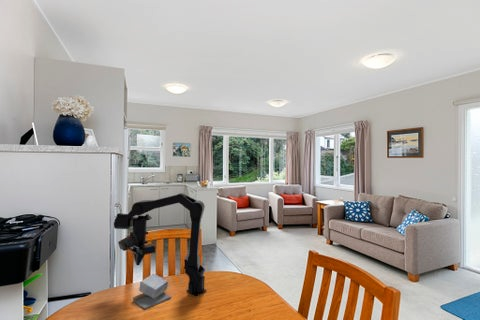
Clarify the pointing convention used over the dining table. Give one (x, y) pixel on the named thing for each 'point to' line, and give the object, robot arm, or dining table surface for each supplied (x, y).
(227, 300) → the dining table surface
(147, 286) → the medicine box
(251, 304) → the dining table surface
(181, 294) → the dining table surface
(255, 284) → the dining table surface
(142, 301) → the mat
